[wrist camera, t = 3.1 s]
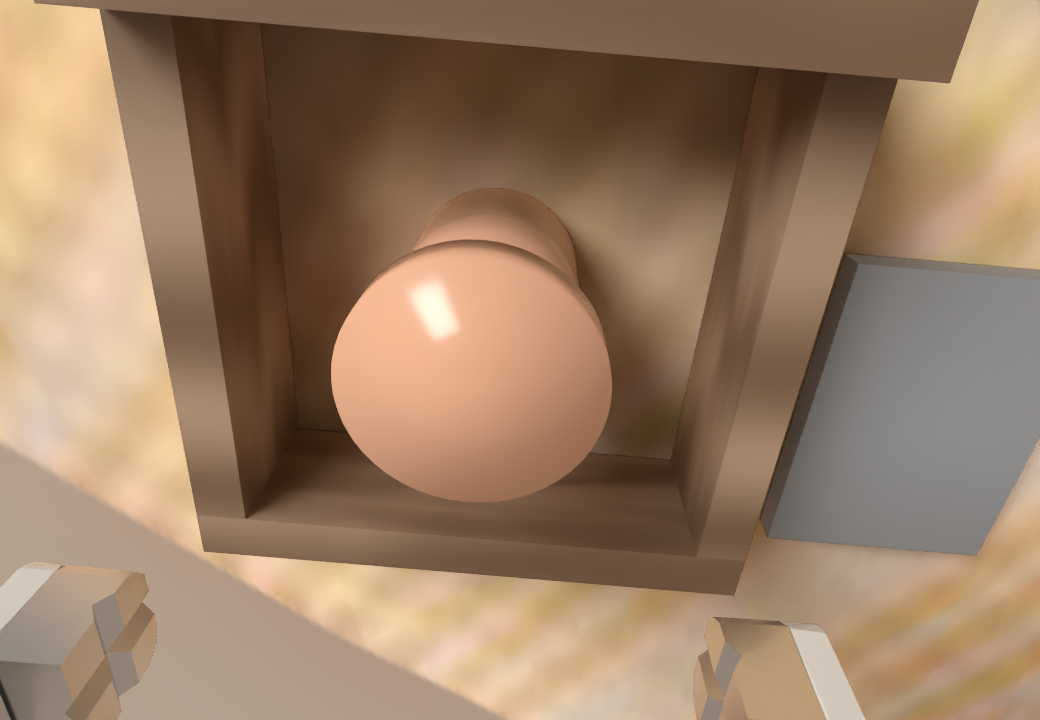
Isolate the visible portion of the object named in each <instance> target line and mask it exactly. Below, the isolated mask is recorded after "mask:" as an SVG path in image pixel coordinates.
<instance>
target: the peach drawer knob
mask: <svg viewBox="0 0 1040 720" xmlns="http://www.w3.org/2000/svg"><path fill="white" fill-rule="evenodd" d="M331 383H332V390H333V396H334V400H335V404H336V407H337V411H338V413H339V415H340V417H341V420H342V422H343V424H344V426H345V428H346V430H347V431H348V433H349V435H350V436H351V438H352V439H353V441H354V442H355V443H356V444H357V446H358V447H359V448H360V450H361V451H362V452H363V453H364V454H365V455H366V456H367V457H368V458H369V459H370V460H371V461H372V462H373V463H374V464H375V465H377V466H378V467H379V468H380V469H382V470H383V471H384V472H385V473H387V474H388V475H390V476H391V477H393V478H395V479H396V480H398V481H399V482H401V483H403V484H405V485H407V486H409V487H411V488H413V489H416V490H418V491H421V492H424V493H426V494H429V495H432V496H436V497H440V498H444V499H448V500H455V501H462V502H481V503H482V502H497V501H504V500H509V499H515V498H518V497H522V496H525V495H529V494H532V493H534V492H536V491H539V490H541V489H544V488H546V487H548V486H549V485H551V484H553V483H555V482H556V481H558V480H560V479H561V478H563V477H564V476H565V475H567V474H568V473H569V472H571V471H572V470H573V469H574V468H575V467H576V466H577V465H578V464H579V463H580V462H581V461H583V460H584V458H585V457H586V456H587V455H588V453H589V452H590V451H591V450H592V448H593V447H594V445H595V444H596V442H597V440H598V438H599V437H600V435H601V433H602V431H603V428H604V426H605V423H606V421H607V418H608V414H609V410H610V406H611V397H612V375H611V367H610V362H609V356H608V350H607V345H606V340H605V336H604V331H603V329H602V326H601V323H600V321H599V318H598V316H597V314H596V312H595V310H594V308H593V306H592V305H591V303H590V301H589V300H588V299H587V297H586V296H585V295H584V293H583V292H582V290H581V289H580V288H579V286H578V277H577V267H576V258H575V252H574V248H573V244H572V241H571V239H570V236H569V234H568V232H567V230H566V228H565V227H564V225H563V224H562V222H561V221H560V220H559V218H558V217H557V216H556V215H555V214H554V213H553V212H552V211H551V210H550V209H549V208H548V207H546V206H545V205H544V204H543V203H541V202H539V201H538V200H536V199H535V198H533V197H531V196H528V195H526V194H524V193H521V192H517V191H514V190H509V189H503V188H486V189H478V190H474V191H470V192H467V193H465V194H462V195H460V196H458V197H456V198H454V199H452V200H451V201H449V202H448V203H446V204H445V205H444V206H442V207H441V208H440V209H439V210H438V211H437V212H436V213H435V214H434V215H433V217H432V218H431V220H430V221H429V222H428V224H427V226H426V227H425V229H424V231H423V233H422V234H421V236H420V238H419V240H418V242H417V243H416V245H415V247H414V249H413V250H412V252H410V253H409V254H407V255H405V256H403V257H401V258H399V259H398V260H396V261H395V262H393V263H392V264H391V265H389V266H388V267H387V268H385V269H384V270H383V271H382V272H381V273H380V274H379V275H378V276H377V277H376V278H375V279H374V280H373V281H372V282H371V283H370V284H369V286H368V287H367V288H366V290H365V291H364V292H363V294H362V295H361V297H360V298H359V300H358V301H357V303H356V304H355V306H354V307H353V309H352V310H351V312H350V313H349V315H348V316H347V318H346V320H345V322H344V324H343V326H342V328H341V330H340V332H339V334H338V337H337V340H336V343H335V346H334V351H333V357H332V363H331Z"/></svg>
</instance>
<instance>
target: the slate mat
mask: <svg viewBox="0 0 1040 720" xmlns="http://www.w3.org/2000/svg"><path fill="white" fill-rule="evenodd" d="M1039 437H1040V270H1034V269H1023V268H1011V267H1000V266H988V265H976V264H965V263H953V262H941V261H930V260H918V259H907V258H895V257H883V256H872V255H860V254H849V253H845V256H844V259H843V262H842V266H841V269H840V272H839V275H838V278H837V281H836V284H835V288H834V291H833V294H832V297H831V300H830V303H829V306H828V309H827V313H826V316H825V319H824V322H823V325H822V328H821V331H820V334H819V338H818V341H817V344H816V347H815V350H814V353H813V356H812V360H811V363H810V366H809V369H808V372H807V375H806V378H805V381H804V385H803V388H802V391H801V394H800V397H799V400H798V403H797V406H796V410H795V413H794V416H793V419H792V422H791V425H790V428H789V432H788V435H787V438H786V441H785V444H784V447H783V450H782V453H781V457H780V460H779V463H778V466H777V469H776V472H775V475H774V479H773V482H772V485H771V488H770V491H769V494H768V497H767V500H766V504H765V507H764V510H763V513H762V516H761V519H760V521H761V523H762V526H763V528H764V531H765V533H766V535H767V538H774V539H786V540H798V541H810V542H822V543H834V544H846V545H858V546H870V547H881V548H893V549H905V550H917V551H929V552H941V553H953V554H965V555H977V554H978V552H979V550H980V548H981V546H982V544H983V542H984V541H985V539H986V537H987V535H988V533H989V531H990V529H991V527H992V526H993V524H994V522H995V520H996V518H997V516H998V514H999V512H1000V511H1001V509H1002V507H1003V505H1004V503H1005V501H1006V499H1007V497H1008V496H1009V494H1010V492H1011V490H1012V488H1013V486H1014V484H1015V482H1016V481H1017V479H1018V477H1019V475H1020V473H1021V471H1022V469H1023V467H1024V466H1025V464H1026V462H1027V460H1028V458H1029V456H1030V454H1031V452H1032V451H1033V449H1034V447H1035V445H1036V443H1037V441H1038V439H1039Z"/></svg>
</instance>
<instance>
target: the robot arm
mask: <svg viewBox="0 0 1040 720" xmlns="http://www.w3.org/2000/svg"><path fill="white" fill-rule="evenodd" d="M148 592H149V589H148V585H147V582H146V578H145V576H144V574H141V573H137V572H132V571H123V570H113V569H103V568H94V567H85V566H75V565H61V564H51V563H41V562H31V563H29V564H27V565H25V566H23V567H21V568H19V569H18V570H17V571H16V572H15V573H14V574H13V575H12V576H11V577H10V578H9V579H8V580H7V582H6V583H5V584H4V585H3V586H2V587H1V588H0V720H117V718H118V716H119V715H120V713H121V707H120V700H119V696H120V695H122V694H123V693H125V692H126V691H127V690H129V689H130V688H132V687H133V686H135V685H136V684H138V683H139V682H140V680H141V678H142V677H143V675H144V673H145V672H146V670H147V668H148V666H149V665H150V662H151V659H152V656H153V653H154V650H155V646H156V643H157V622H156V617H155V614H154V613H153V612H152V611H151V610H150V609H149V608H148V607H147V606H146V605H145V604H143V603H142V601H143V600H144V598H145V597H146V595H147V593H148ZM705 639H706V643H707V647H708V650H707V651H706V652H704V653H703V654H702V655H700V656H699V657H698V660H697V664H696V668H695V673H694V691H693V694H694V703H695V711H696V716H697V720H866V718H865V716H864V713H863V711H862V709H861V707H860V705H859V703H858V701H857V699H856V696H855V694H854V692H853V690H852V688H851V686H850V684H849V681H848V679H847V677H846V675H845V673H844V671H843V669H842V667H841V664H840V662H839V660H838V658H837V656H836V654H835V652H834V649H833V647H832V645H831V643H830V641H829V639H828V637H827V635H826V632H825V631H824V630H823V629H822V628H821V627H820V626H819V625H818V624H804V623H791V622H782V623H781V622H779V621H766V620H751V619H736V618H722V617H713V618H712V619H711V620H710V621H709V623H708V625H707V629H706V632H705Z"/></svg>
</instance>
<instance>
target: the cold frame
mask: <svg viewBox="0 0 1040 720" xmlns="http://www.w3.org/2000/svg"><path fill="white" fill-rule="evenodd" d="M978 1H979V0H34V3H40V4H51V5H62V6H74V7H85V8H97V9H100V14H101V19H102V24H103V30H104V35H105V40H106V45H107V50H108V56H109V61H110V66H111V71H112V76H113V82H114V87H115V92H116V97H117V102H118V108H119V113H120V118H121V123H122V128H123V134H124V139H125V144H126V149H127V154H128V160H129V165H130V170H131V175H132V180H133V186H134V191H135V196H136V201H137V206H138V212H139V217H140V222H141V227H142V232H143V238H144V243H145V248H146V253H147V258H148V264H149V269H150V274H151V279H152V284H153V290H154V295H155V300H156V305H157V310H158V316H159V321H160V326H161V331H162V336H163V342H164V347H165V352H166V357H167V362H168V368H169V373H170V378H171V383H172V388H173V394H174V399H175V404H176V409H177V414H178V420H179V425H180V430H181V435H182V440H183V446H184V451H185V456H186V461H187V466H188V471H189V477H190V482H191V487H192V492H193V497H194V503H195V508H196V513H197V518H198V523H199V529H200V534H201V539H202V544H203V549H204V552H216V553H228V554H240V555H252V556H264V557H276V558H288V559H300V560H312V561H324V562H336V563H348V564H360V565H372V566H384V567H396V568H408V569H420V570H432V571H444V572H456V573H468V574H480V575H492V576H505V577H517V578H529V579H541V580H553V581H565V582H577V583H589V584H601V585H613V586H625V587H637V588H649V589H661V590H673V591H685V592H697V593H709V594H721V595H733V596H734V594H735V591H736V588H737V585H738V581H739V578H740V575H741V572H742V569H743V566H744V563H745V559H746V556H747V553H748V550H749V547H750V544H751V540H752V537H753V534H754V531H755V528H756V525H757V522H758V518H759V515H760V512H761V509H762V506H763V503H764V500H765V496H766V493H767V490H768V487H769V484H770V481H771V477H772V474H773V471H774V468H775V465H776V462H777V459H778V455H779V452H780V449H781V446H782V443H783V440H784V436H785V433H786V430H787V427H788V424H789V421H790V418H791V414H792V411H793V408H794V405H795V402H796V399H797V396H798V392H799V389H800V386H801V383H802V380H803V377H804V373H805V370H806V367H807V364H808V361H809V358H810V355H811V351H812V348H813V345H814V342H815V339H816V336H817V333H818V329H819V326H820V323H821V320H822V317H823V314H824V310H825V307H826V304H827V301H828V298H829V295H830V292H831V288H832V285H833V282H834V279H835V276H836V273H837V269H838V266H839V263H840V260H841V257H842V254H843V251H844V247H845V244H846V241H847V238H848V235H849V232H850V229H851V225H852V222H853V219H854V216H855V213H856V210H857V206H858V203H859V200H860V197H861V194H862V191H863V188H864V184H865V181H866V178H867V175H868V172H869V169H870V166H871V162H872V159H873V156H874V153H875V150H876V147H877V143H878V140H879V137H880V134H881V131H882V128H883V125H884V121H885V118H886V115H887V112H888V109H889V106H890V102H891V99H892V96H893V93H894V90H895V87H896V84H897V80H898V79H907V80H919V81H930V82H941V83H950V81H951V78H952V75H953V72H954V69H955V67H956V64H957V61H958V58H959V55H960V52H961V50H962V47H963V44H964V41H965V38H966V35H967V32H968V30H969V27H970V24H971V21H972V18H973V15H974V13H975V10H976V7H977V4H978ZM260 23H268V24H279V25H291V26H302V27H314V28H325V29H336V30H348V31H359V32H371V33H382V34H393V35H405V36H416V37H428V38H439V39H450V40H462V41H473V42H485V43H496V44H508V45H519V46H530V47H542V48H553V49H565V50H576V51H587V52H599V53H610V54H622V55H633V56H645V57H656V58H667V59H679V60H690V61H702V62H713V63H724V64H736V65H747V66H759V70H758V75H757V79H756V84H755V88H754V92H753V97H752V101H751V106H750V110H749V115H748V119H747V123H746V128H745V132H744V137H743V141H742V146H741V150H740V154H739V159H738V163H737V168H736V172H735V177H734V181H733V186H732V190H731V194H730V199H729V203H728V208H727V212H726V217H725V221H724V225H723V230H722V234H721V239H720V243H719V248H718V252H717V256H716V261H715V265H714V270H713V274H712V279H711V283H710V288H709V292H708V296H707V301H706V305H705V310H704V314H703V319H702V323H701V327H700V332H699V336H698V341H697V345H696V350H695V354H694V358H693V363H692V367H691V372H690V376H689V381H688V385H687V389H686V394H685V398H684V403H683V407H682V412H681V416H680V421H679V425H678V429H677V434H676V438H675V443H674V447H673V452H672V456H671V460H663V459H651V458H639V457H628V456H616V455H604V454H592V453H588V455H587V456H586V457H585V458H584V460H583V461H581V462H580V463H579V464H578V465H577V466H576V467H575V468H574V469H573V470H572V471H571V472H569V473H568V474H567V475H565V476H564V477H563V478H561V479H560V480H558V481H556V482H555V483H553V484H551V485H549V486H548V487H546V488H544V489H541V490H539V491H536V492H534V493H532V494H529V495H525V496H522V497H518V498H515V499H509V500H504V501H497V502H482V503H481V502H462V501H455V500H448V499H444V498H440V497H436V496H432V495H429V494H426V493H424V492H421V491H418V490H416V489H413V488H411V487H409V486H407V485H405V484H403V483H401V482H399V481H398V480H396V479H395V478H393V477H391V476H390V475H388V474H387V473H385V472H384V471H383V470H382V469H380V468H379V467H378V466H377V465H375V464H374V463H373V462H372V461H371V460H370V459H369V458H368V457H367V456H366V455H365V454H364V453H363V452H362V451H361V450H360V448H359V447H358V446H357V444H356V443H355V442H354V441H353V439H352V438H351V436H350V435H349V433H343V432H331V431H319V430H307V429H298V421H297V410H296V399H295V388H294V378H293V367H292V356H291V346H290V335H289V324H288V313H287V303H286V292H285V281H284V270H283V260H282V249H281V238H280V228H279V217H278V206H277V195H276V185H275V174H274V163H273V153H272V142H271V131H270V120H269V110H268V99H267V88H266V77H265V67H264V56H263V45H262V35H261V24H260Z"/></svg>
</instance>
